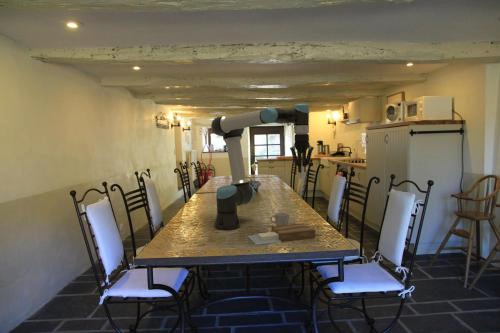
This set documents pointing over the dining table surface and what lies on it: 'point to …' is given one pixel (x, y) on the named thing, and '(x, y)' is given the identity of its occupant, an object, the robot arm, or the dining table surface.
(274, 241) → the mat
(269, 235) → the beige flat block
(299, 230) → the block
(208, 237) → the dining table surface
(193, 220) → the dining table surface
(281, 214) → the cup
